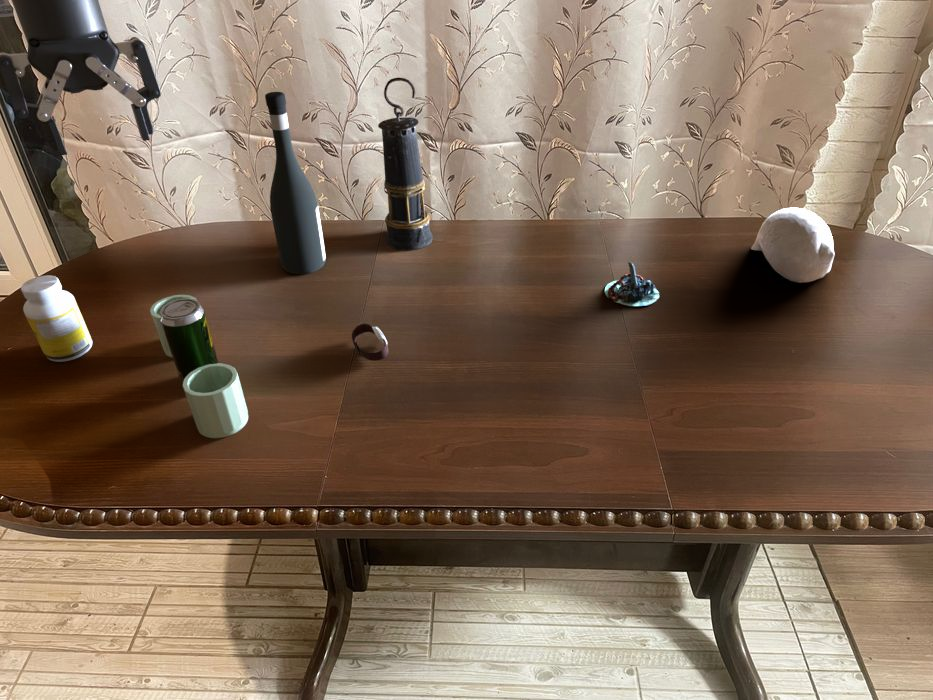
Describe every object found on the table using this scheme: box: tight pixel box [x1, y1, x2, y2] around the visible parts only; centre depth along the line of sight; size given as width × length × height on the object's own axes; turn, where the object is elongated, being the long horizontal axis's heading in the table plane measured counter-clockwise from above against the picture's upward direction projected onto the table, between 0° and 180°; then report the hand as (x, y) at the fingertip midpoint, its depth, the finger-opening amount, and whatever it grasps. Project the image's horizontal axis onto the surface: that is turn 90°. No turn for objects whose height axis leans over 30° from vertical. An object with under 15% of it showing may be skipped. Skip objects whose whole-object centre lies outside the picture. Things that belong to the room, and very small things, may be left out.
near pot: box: [182, 362, 249, 439], centre depth 83 cm, size 6×6×7 cm
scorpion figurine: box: [604, 260, 660, 307], centre depth 109 cm, size 8×7×8 cm
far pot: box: [149, 294, 198, 358], centre depth 96 cm, size 6×6×7 cm
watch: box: [351, 323, 390, 362], centre depth 96 cm, size 8×5×4 cm, turn 33°
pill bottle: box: [20, 275, 93, 363], centre depth 94 cm, size 6×6×12 cm
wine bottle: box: [264, 91, 327, 275], centre depth 109 cm, size 8×8×30 cm
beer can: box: [160, 299, 220, 385], centre depth 88 cm, size 5×5×12 cm
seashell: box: [750, 207, 835, 284], centre depth 115 cm, size 15×14×15 cm
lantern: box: [377, 77, 434, 251], centre depth 118 cm, size 9×9×30 cm
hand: (105, 146), depth 73 cm, fingers open, 8 cm apart
